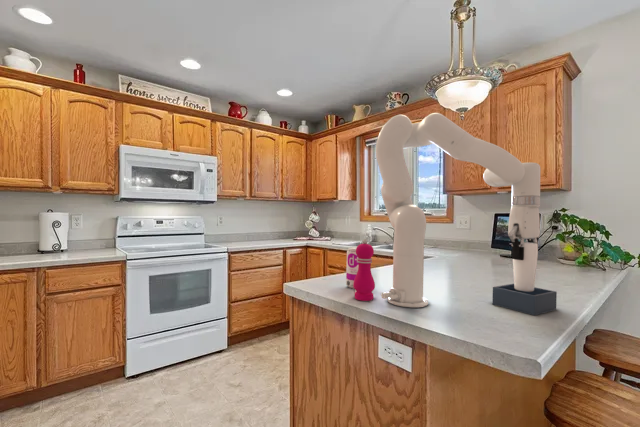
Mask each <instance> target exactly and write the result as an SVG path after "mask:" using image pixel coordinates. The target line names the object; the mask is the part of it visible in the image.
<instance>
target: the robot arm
mask: <svg viewBox="0 0 640 427" xmlns="http://www.w3.org/2000/svg"><path fill="white" fill-rule="evenodd" d="M431 145H435V146H436V147H437V148H439V149H441V150H442V151H444V153H446V154H448V155H449V156H450V157H451V158H453V159H454V160H457V161H460V162H468V163H473V164H476V165H479V166H481V167H483V168H484V169H485V170H484V172H483V175H482V178H483V181H484V183H485V184H487V185H488V186H490V187H493V188H501V187H509V186H511V206H510V211H509V217H508V227H507V228H508V230H507V236H508V238H509V241H510V245H511V247H512V248H511V259H512V260H513V259H516V260H524V247H522V246H523V243H524V242H528V243H537V244H538V245H539V240H540V236H541V232H540V231H541V220H540V209H539V208H540V207H541V171H542V170H541V165H540V164H539V163H537V162H522V161H520V159H518V157H516V156H515V155H513V154H512V153H510V152H509V151H507V150H506V149H505V148H502V147H501V146H499V145H496V144H494V143H492V142H489V141H486V140H484V139H482V138H478V137H475V136H473V135H472V134H471V133H469V132H468V131H466V130H464V129H463V128H462V127H460V126H459V125H458V124H456V123H455V122H453V121H452V120H451V119H449V118H448V117H446V116H445V115H444V114H442V113H440V112H433V113H430V114H427V115H426V116H425V117H424V118H423V119H422V120H421V121H420V122H415V123H413V122H412V121H411V119H410V118H409V117H408V116H407V115H405V114H397V115H394V116H392V117H391V118H389V119H388V120H386V122H385V124H384V125H383V126H382V127H381V129H380V131H379V133H378V136H377V140H376V144H375V156H376V162H377V166H378V169H379V174H380V176H381V180H382V185H381V188H380V190H381V191H380V192H381V193H380V194H381V197H382V201H383V205H384V207H385V210H386V214H387V217H388V219H389V222H390V225H391V226H392V228H393V229H394V232H393V234H394V235H393V244H392V246H393V247H392V250H393V251H392V254H393V255H392V256H393V258H392V259H393V260H392V266H393V267H392V287H390V289H389V291H384V292H381V294H380V296H381V298H382V299H383V300H385V299H387V302H388V303H389V304H392V305H394V306H398V307H403V308H413V309H414V308H424V307H427V306H428V305H429V300H428V299H427V298H426V297H424V273H425V272H424V266H425V265H424V264H425V263H424V262H425V237H426V230H427V217H426V215H425V212H424V211H423V209H422V208H420V207H419V206H417V205H415V204H414V203H413V201H412V200H413V199H412V197H411V196H412V195H413V193H414V184H413V181H412V178H411V175H410V173H409V170H408V166H407V163H406V159H405V154H404V149H410V148H411V149H413V148H420V147H427V146H431Z"/></svg>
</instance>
